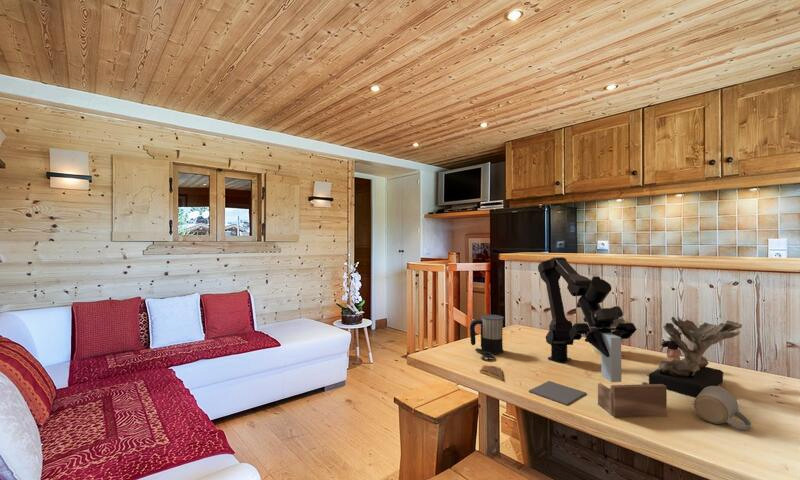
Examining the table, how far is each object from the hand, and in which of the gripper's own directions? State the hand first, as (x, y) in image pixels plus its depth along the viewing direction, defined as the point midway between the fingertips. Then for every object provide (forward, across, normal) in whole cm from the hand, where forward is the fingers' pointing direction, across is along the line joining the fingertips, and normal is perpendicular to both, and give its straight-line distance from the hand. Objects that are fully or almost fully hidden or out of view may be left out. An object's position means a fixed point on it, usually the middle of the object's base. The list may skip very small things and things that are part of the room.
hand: (613, 356), depth 107 cm
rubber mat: (+6, -15, +12) cm, 20 cm away
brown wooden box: (+14, 0, +3) cm, 14 cm away
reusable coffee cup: (-21, +23, +39) cm, 50 cm away
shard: (-6, -29, +24) cm, 38 cm away
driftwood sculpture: (+3, +33, +14) cm, 36 cm away
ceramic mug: (+19, +19, -1) cm, 27 cm away
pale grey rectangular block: (+4, 0, +6) cm, 7 cm away
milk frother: (-21, -25, +39) cm, 51 cm away
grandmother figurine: (-9, +38, +27) cm, 48 cm away
